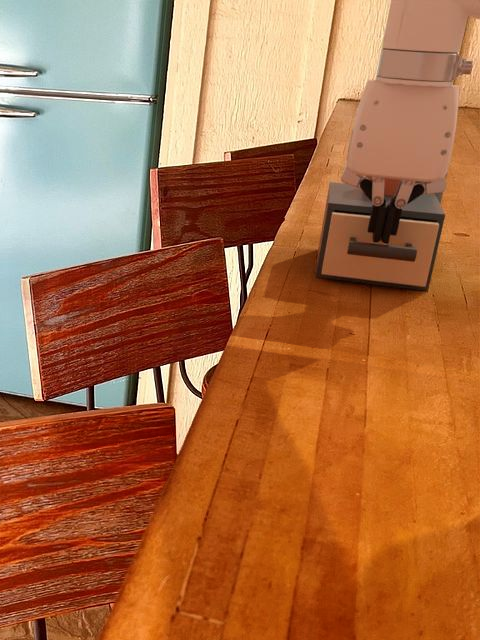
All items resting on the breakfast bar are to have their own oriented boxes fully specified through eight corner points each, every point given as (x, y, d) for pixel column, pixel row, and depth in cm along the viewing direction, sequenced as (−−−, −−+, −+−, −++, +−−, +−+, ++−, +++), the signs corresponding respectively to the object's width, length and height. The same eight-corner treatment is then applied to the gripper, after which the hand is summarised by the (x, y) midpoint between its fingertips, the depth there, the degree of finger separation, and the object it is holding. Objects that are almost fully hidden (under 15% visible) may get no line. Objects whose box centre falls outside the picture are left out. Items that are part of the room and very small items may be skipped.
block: (402, 196, 109) (409, 160, 107) (363, 193, 110) (370, 157, 108) (399, 190, 113) (407, 155, 111) (363, 187, 114) (369, 152, 112)
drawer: (429, 299, 97) (443, 234, 95) (320, 285, 101) (331, 222, 98) (416, 258, 114) (429, 202, 111) (323, 248, 117) (333, 193, 114)
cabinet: (428, 291, 103) (445, 214, 100) (315, 277, 107) (328, 202, 104) (418, 260, 116) (433, 191, 113) (318, 249, 120) (329, 182, 117)
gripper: (489, 72, 94) (449, 241, 101) (341, 63, 98) (311, 225, 105) (500, 76, 87) (456, 257, 94) (340, 66, 92) (309, 239, 99)
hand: (380, 240), depth 100 cm, fingers closed
